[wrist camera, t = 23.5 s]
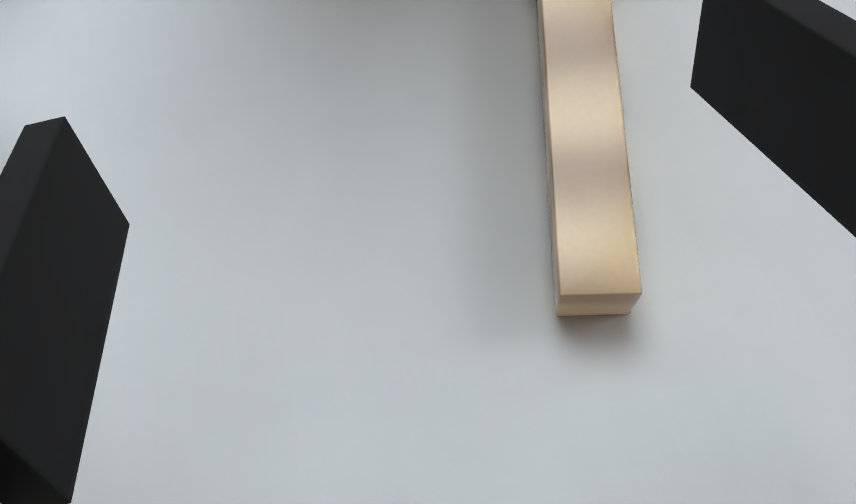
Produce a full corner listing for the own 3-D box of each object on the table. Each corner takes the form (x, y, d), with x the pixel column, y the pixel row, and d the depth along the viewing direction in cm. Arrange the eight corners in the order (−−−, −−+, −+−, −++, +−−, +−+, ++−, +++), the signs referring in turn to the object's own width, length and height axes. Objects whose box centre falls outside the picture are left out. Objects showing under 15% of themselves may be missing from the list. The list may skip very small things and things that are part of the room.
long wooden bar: (647, 313, 27) (670, 282, 23) (538, 316, 27) (541, 285, 23) (603, -96, 34) (614, -175, 30) (518, -87, 35) (518, -164, 31)
